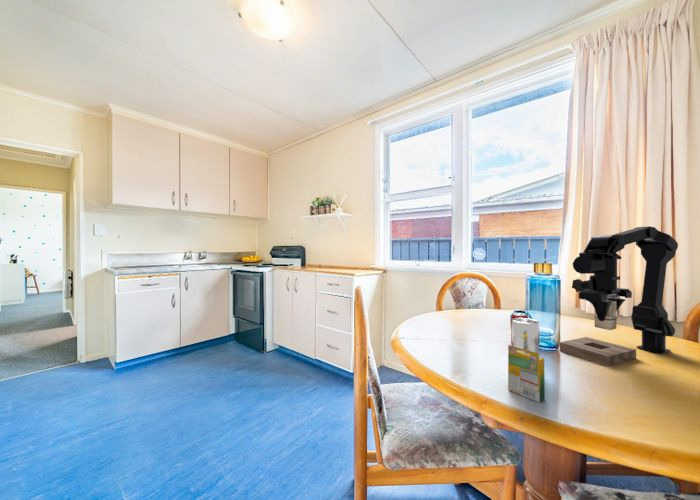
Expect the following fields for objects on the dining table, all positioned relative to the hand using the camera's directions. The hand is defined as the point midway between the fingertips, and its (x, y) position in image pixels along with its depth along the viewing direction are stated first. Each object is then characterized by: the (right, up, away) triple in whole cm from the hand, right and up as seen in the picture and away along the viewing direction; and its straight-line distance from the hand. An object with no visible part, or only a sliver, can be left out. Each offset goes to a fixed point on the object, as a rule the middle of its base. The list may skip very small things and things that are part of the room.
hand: (605, 320), depth 92 cm
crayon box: (-41, -13, -23) cm, 49 cm away
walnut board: (-1, -12, +2) cm, 12 cm away
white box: (-33, -13, -10) cm, 37 cm away
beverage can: (-22, -13, +10) cm, 27 cm away
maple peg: (0, -3, 0) cm, 3 cm away
